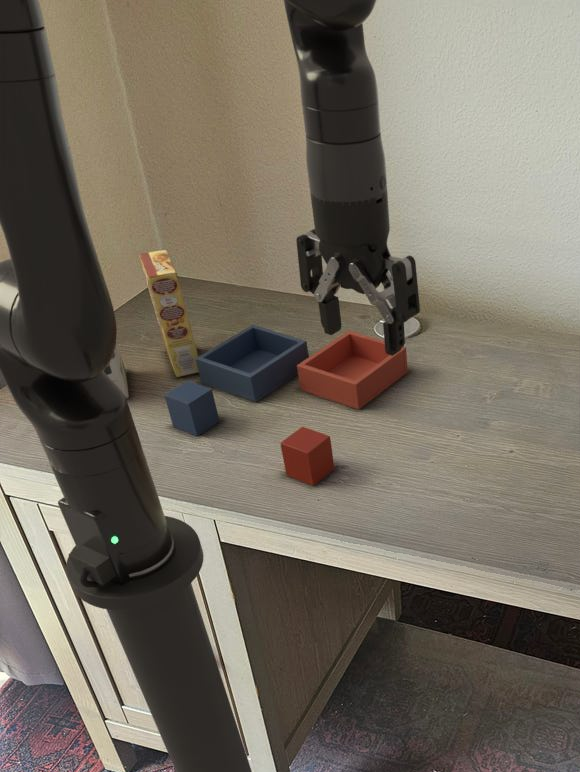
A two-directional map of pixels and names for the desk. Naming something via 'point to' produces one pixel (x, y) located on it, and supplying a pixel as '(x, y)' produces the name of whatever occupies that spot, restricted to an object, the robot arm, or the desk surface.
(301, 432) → the red block
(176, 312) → the candy box
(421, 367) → the desk surface
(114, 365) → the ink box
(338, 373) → the red bin
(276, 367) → the blue bin
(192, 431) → the blue block
